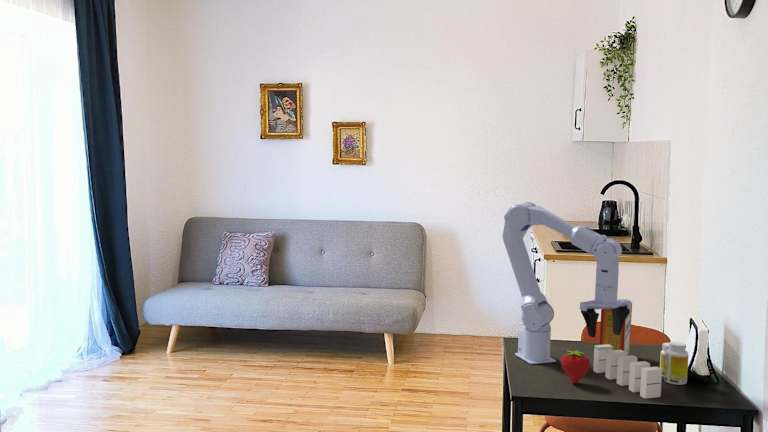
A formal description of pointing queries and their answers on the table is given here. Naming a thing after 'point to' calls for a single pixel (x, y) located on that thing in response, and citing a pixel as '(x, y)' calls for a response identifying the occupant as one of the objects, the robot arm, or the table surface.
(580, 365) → the strawberry
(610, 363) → the domino
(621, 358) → the domino
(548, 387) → the table surface
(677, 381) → the supplement bottle
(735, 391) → the table surface
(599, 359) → the domino head
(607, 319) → the baking soda box
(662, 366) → the supplement bottle
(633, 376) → the domino
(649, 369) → the domino
